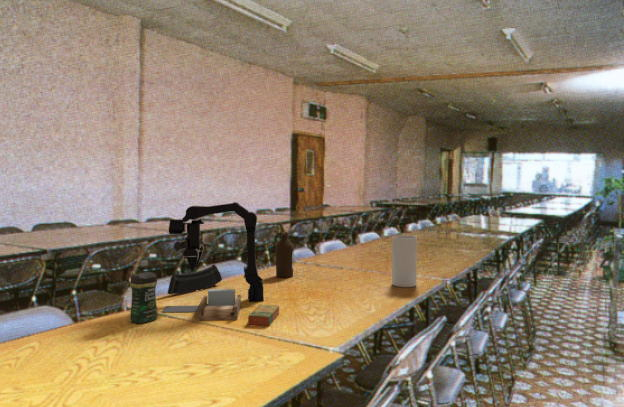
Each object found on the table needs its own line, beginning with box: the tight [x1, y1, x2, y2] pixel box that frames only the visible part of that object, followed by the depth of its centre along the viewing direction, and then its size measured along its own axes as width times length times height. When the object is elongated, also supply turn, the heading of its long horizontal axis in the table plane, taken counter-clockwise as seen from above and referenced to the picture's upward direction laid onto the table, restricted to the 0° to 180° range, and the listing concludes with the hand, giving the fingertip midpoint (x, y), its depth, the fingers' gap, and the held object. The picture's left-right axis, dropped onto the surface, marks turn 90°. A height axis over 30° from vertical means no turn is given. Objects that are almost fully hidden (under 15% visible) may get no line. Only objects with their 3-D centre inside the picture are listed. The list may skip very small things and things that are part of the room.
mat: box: [160, 304, 199, 313], centre depth 197 cm, size 16×9×1 cm, turn 95°
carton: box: [247, 303, 280, 327], centre depth 183 cm, size 8×16×4 cm, turn 170°
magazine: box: [167, 264, 223, 295], centre depth 230 cm, size 17×3×30 cm
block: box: [207, 288, 236, 306], centre depth 198 cm, size 11×3×8 cm, turn 95°
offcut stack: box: [203, 306, 234, 316], centre depth 188 cm, size 12×6×4 cm, turn 95°
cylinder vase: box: [391, 234, 418, 288], centre depth 243 cm, size 12×12×25 cm
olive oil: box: [274, 231, 295, 279], centre depth 263 cm, size 11×11×25 cm
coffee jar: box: [129, 271, 158, 324], centre depth 181 cm, size 10×8×19 cm
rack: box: [196, 294, 242, 321], centre depth 192 cm, size 15×19×5 cm
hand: (194, 269), depth 209 cm, fingers open, 9 cm apart
